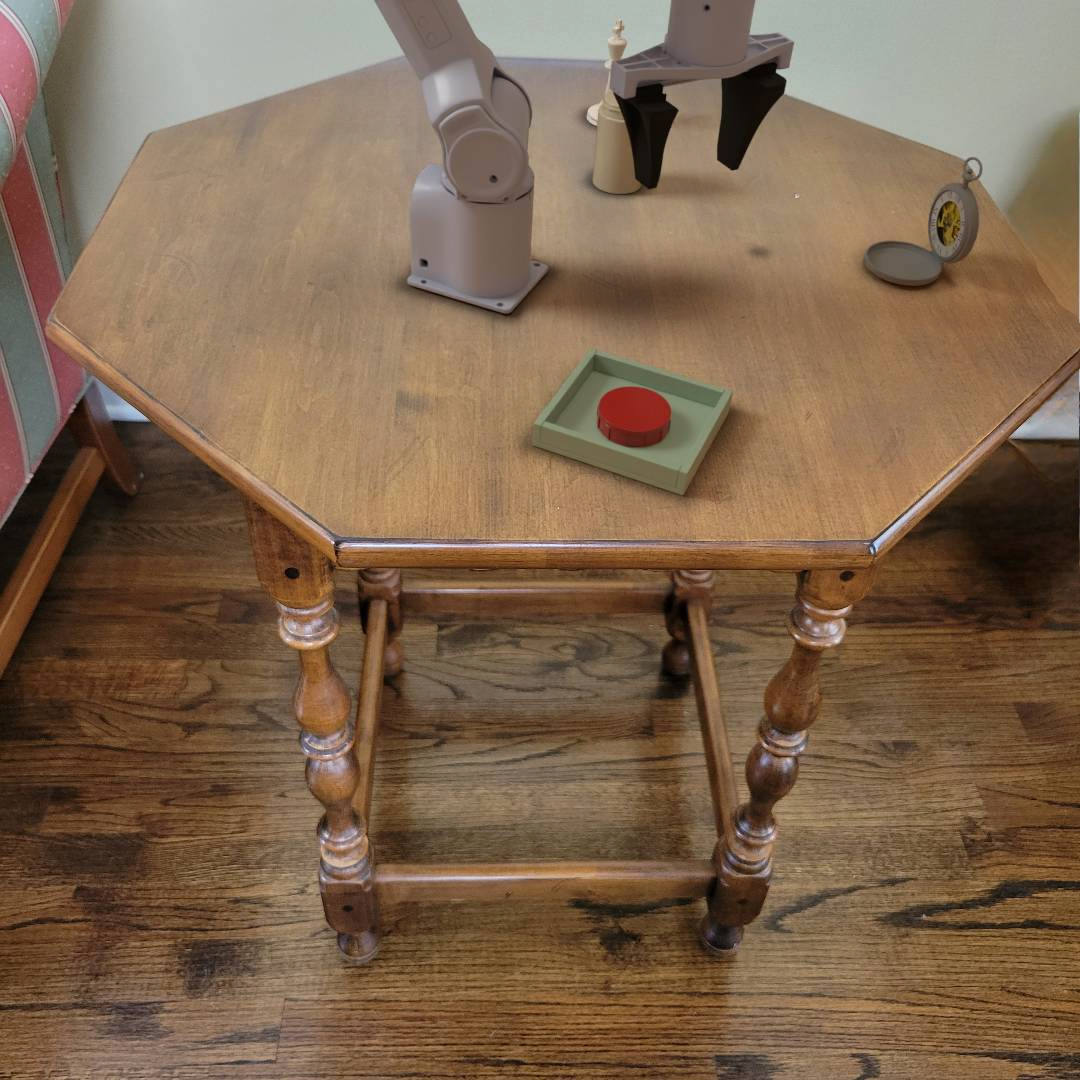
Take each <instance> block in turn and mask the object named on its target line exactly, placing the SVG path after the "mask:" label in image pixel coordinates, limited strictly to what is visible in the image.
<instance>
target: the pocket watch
mask: <svg viewBox="0 0 1080 1080" xmlns="http://www.w3.org/2000/svg"><path fill="white" fill-rule="evenodd" d="M970 161H975V162H977V164H978V166H979V170H978V174H977V175H976V176H974V175H973V174H972V173H974V170H973V169H972V168H971V167H970V168H967V165H968V163H969V162H970ZM983 170H984V169H983V164H982V162H981V160H980V159H979V158H978V157H976V156H970V157H968V158H967V159H965V161H964V163H963V166H962V175H961V178H962V180H963V181H962V182H961V183H960V182H949V183H946V184H945V185H943V186H942V187H941V188H940V189H939V191H937V193H936V195H935V196H934V198H933V201H932V203H931V207H930V210H929V214H928V219H927V236H928V242H929V244H930V248H931V250H929V249H928V248H925V247H923V246H921V245H918V244H916V243H911V242H909V241H903V240H902V241H901V240H882V241H876V242H874V243H871V245H869V246H868V247H867V248H866V250H865V252H864V255H863V256H864V257H863V261H864V264H865V266H866V268H867V269H868V270H869V271H870V272H871V273H873V274H874V275H875V276H876V277H878V278H880V279H882V280H884V281H887V282H890V283H892V284H896V285H902V286H909V287H911V286H914V287H915V286H917V287H918V286H922V285H923V286H924V285H928V284H930V283H932V282H934V281H936V280H937V279H938V278H939V276H940V275H941V273H942V269H943V266H944V265H945V264H947V265H950V264H951V265H952V264H956V263H958V262H962V261H963V260H965V258H967V256H969V254H970V253H971V251H972V250H973V248H974V246H975V243H976V241H977V237H978V234H979V233H978V232H979V227H980V212H979V211H980V210H979V204H978V201H977V197H976V196H975V193H974V192H973V190H972V189H971V188H970V187H969V184H970V183H972V182H974V181H977V180H978V179H980V178H981V176H982V174H983Z"/></svg>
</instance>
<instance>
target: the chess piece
mask: <svg viewBox="0 0 1080 1080" xmlns="http://www.w3.org/2000/svg"><path fill="white" fill-rule="evenodd" d="M624 30H625V24H623V19H620V18H617V19H616V20H615V26H614V27H613V28H612V31H611V33H612V34H614V35H613V36H611V37H609V38H608V39H607V40H606V42H607V43H606V44H607V47H608V53H609V57H610V58H609V59H608V60H606V61H605V63H604V67H605V68H606V69H607V70H609V72H608V76H607V77H608V79H607V83H606V88H605V92H604V95H605V94H606V93H607V92H609V91H612V90H611V89H610V88H609V86H610V75H611V64H612V61H615V60H620V59H622V57H623V55H624V52H625V49H626V47H627V45H628V40H627V39H626V38H624V37H623V36H622V32H623V31H624ZM603 100H604V99H602V100H600V102H599V103H595V104H593V105H591V106H589V108H588V110H587V114H586V120H587V121H588V122H589V123H590V124H591V125H593V126H595V127H597V120H598V110H599V107H600V106H601V105H602V102H603Z"/></svg>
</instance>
